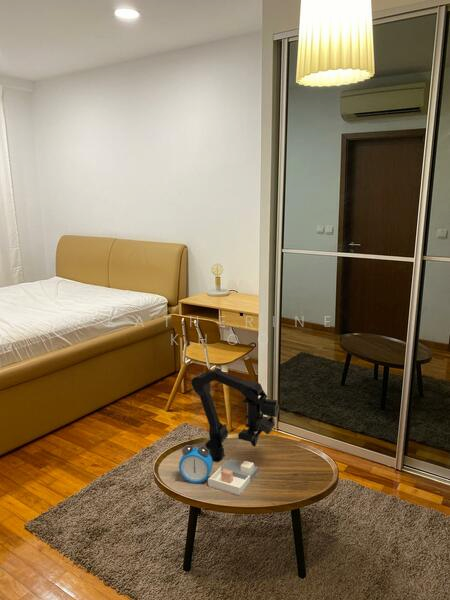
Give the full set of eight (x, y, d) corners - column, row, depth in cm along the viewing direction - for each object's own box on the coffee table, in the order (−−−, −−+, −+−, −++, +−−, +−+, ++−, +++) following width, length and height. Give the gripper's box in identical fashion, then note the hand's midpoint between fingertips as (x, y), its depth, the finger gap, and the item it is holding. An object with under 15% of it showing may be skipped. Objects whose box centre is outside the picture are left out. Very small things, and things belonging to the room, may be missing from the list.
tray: (208, 486, 185) (208, 478, 185) (220, 473, 194) (220, 466, 193) (239, 495, 179) (239, 487, 178) (250, 482, 187) (250, 474, 187)
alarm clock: (179, 482, 188) (177, 449, 185) (183, 473, 194) (181, 441, 191) (210, 485, 186) (209, 451, 183) (213, 476, 192) (212, 443, 189)
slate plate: (220, 473, 194) (220, 468, 193) (229, 464, 201) (229, 458, 200) (250, 482, 187) (250, 476, 187) (258, 472, 194) (258, 466, 194)
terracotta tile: (224, 477, 190) (221, 480, 188) (224, 468, 189) (221, 471, 187) (233, 480, 188) (230, 483, 186) (232, 471, 187) (230, 474, 185)
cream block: (240, 471, 191) (240, 465, 190) (244, 466, 195) (244, 460, 194) (249, 473, 189) (249, 468, 189) (253, 468, 193) (253, 463, 192)
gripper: (262, 425, 182) (262, 461, 185) (280, 407, 198) (280, 440, 201) (237, 420, 187) (238, 454, 190) (256, 402, 203) (257, 435, 206)
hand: (254, 446), depth 197 cm, fingers closed
